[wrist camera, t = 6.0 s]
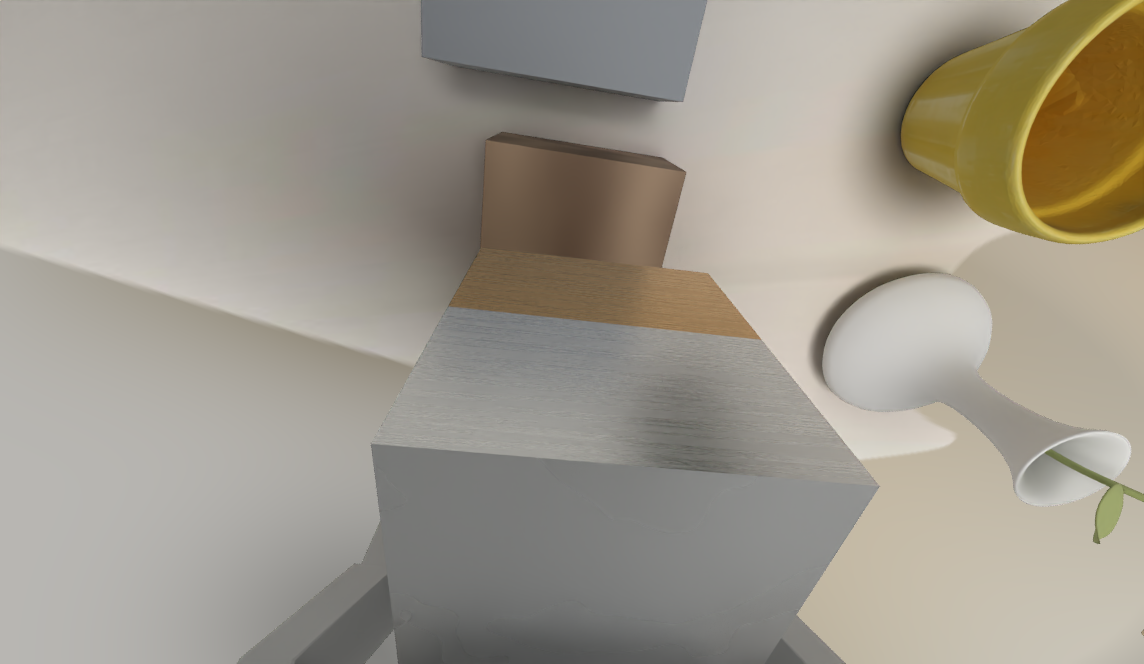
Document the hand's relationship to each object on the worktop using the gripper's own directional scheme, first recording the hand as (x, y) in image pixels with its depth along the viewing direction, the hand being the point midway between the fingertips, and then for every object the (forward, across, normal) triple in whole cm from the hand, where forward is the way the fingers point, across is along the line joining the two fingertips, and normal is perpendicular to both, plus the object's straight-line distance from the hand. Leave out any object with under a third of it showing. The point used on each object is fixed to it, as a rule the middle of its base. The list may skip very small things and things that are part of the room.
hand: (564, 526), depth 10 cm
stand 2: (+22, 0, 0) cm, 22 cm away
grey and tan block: (+2, 0, 0) cm, 2 cm away
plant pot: (+22, -22, -11) cm, 33 cm away
